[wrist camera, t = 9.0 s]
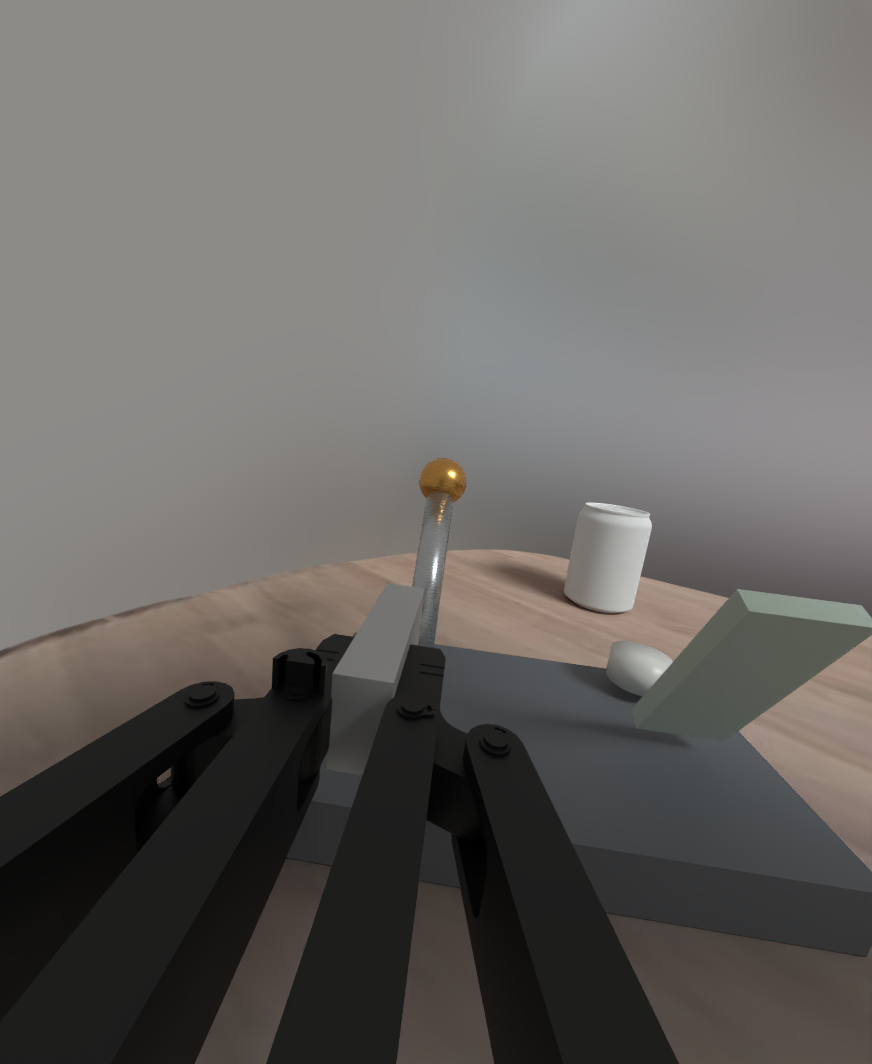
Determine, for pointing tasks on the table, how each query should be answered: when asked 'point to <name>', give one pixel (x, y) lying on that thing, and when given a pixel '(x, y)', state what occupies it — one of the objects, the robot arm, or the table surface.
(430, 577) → the steel toggle lever
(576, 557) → the beverage can
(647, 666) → the white push button
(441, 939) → the table surface
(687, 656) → the sage paddle
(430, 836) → the switch panel
